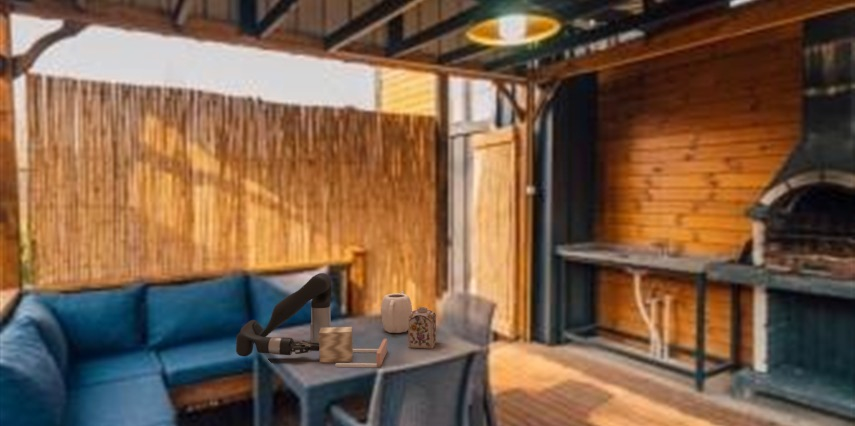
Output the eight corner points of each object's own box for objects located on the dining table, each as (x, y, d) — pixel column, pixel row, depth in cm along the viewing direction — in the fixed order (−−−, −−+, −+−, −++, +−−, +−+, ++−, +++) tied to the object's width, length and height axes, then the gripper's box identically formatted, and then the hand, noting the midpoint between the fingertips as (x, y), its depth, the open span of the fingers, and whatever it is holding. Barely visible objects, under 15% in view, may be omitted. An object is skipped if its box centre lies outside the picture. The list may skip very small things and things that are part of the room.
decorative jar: (432, 349, 285) (432, 310, 284) (408, 348, 287) (407, 310, 286) (436, 342, 297) (436, 305, 296) (413, 341, 299) (412, 304, 298)
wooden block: (319, 362, 267) (319, 332, 266) (321, 356, 276) (320, 327, 275) (352, 361, 268) (351, 331, 267) (352, 355, 277) (352, 326, 276)
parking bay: (335, 366, 260) (335, 352, 260) (346, 351, 283) (346, 338, 282) (380, 367, 259) (379, 353, 258) (387, 351, 282) (387, 338, 281)
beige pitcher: (417, 324, 331) (417, 290, 330) (405, 337, 305) (405, 300, 304) (390, 323, 335) (389, 289, 334) (375, 336, 309) (375, 299, 308)
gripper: (285, 349, 278) (323, 352, 277) (276, 358, 264) (315, 361, 263) (285, 333, 277) (323, 335, 276) (276, 341, 264) (316, 344, 263)
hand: (319, 348), depth 270 cm, fingers closed
